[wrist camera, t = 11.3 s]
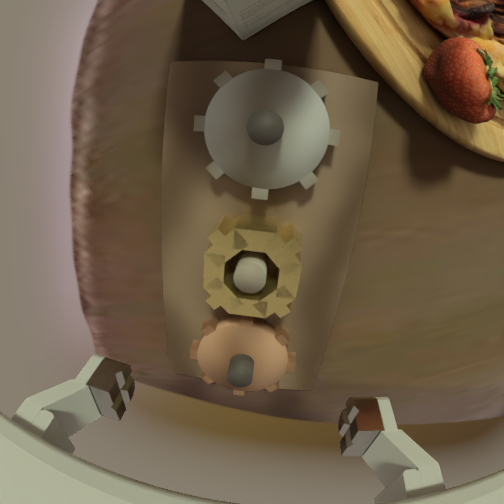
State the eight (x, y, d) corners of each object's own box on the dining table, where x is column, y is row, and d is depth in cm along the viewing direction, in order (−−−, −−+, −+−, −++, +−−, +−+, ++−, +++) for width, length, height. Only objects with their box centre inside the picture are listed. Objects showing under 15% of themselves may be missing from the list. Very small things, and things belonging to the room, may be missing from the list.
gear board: (371, 85, 17) (397, 73, 13) (310, 380, 28) (313, 418, 23) (177, 65, 18) (150, 50, 13) (174, 362, 29) (159, 397, 24)
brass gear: (302, 221, 20) (307, 236, 17) (290, 296, 23) (291, 321, 20) (215, 211, 21) (205, 224, 18) (212, 287, 23) (202, 309, 20)
